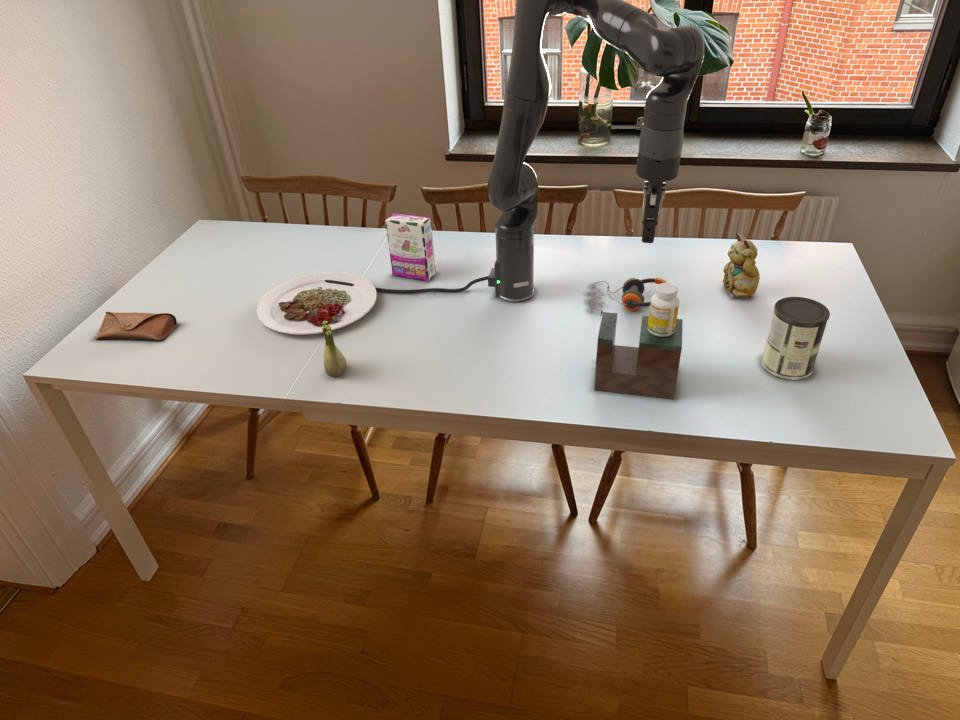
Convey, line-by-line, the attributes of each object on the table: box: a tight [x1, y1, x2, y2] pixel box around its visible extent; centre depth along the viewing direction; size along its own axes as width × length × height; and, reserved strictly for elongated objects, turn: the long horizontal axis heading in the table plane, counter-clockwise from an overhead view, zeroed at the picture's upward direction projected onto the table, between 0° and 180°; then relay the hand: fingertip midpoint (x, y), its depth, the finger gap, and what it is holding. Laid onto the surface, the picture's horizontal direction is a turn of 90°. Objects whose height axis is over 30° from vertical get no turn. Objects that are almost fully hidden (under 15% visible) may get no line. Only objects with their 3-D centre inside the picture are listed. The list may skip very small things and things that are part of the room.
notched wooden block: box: [593, 311, 683, 400], centre depth 140 cm, size 16×10×13 cm, turn 76°
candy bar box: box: [384, 213, 437, 282], centre depth 181 cm, size 11×5×16 cm, turn 68°
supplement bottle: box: [648, 282, 680, 337], centre depth 133 cm, size 5×5×10 cm
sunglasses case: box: [94, 311, 178, 341], centre depth 168 cm, size 18×7×7 cm
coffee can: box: [761, 296, 831, 381], centre depth 142 cm, size 10×10×14 cm
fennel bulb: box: [322, 321, 348, 377], centre depth 148 cm, size 6×5×12 cm
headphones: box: [587, 277, 668, 317], centre depth 168 cm, size 17×5×20 cm
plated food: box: [256, 271, 378, 336], centre depth 173 cm, size 30×30×3 cm
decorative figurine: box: [722, 232, 761, 299], centre depth 167 cm, size 10×8×15 cm
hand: (648, 232), depth 132 cm, fingers open, 8 cm apart
